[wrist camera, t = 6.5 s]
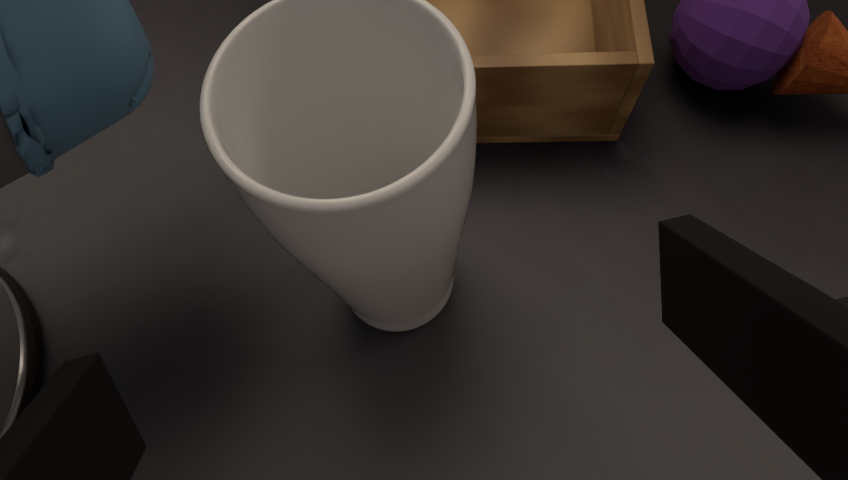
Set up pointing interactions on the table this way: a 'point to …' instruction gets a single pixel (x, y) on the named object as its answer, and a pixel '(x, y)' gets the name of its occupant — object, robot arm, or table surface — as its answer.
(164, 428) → the table surface
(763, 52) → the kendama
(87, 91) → the robot arm
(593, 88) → the bin
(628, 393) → the table surface
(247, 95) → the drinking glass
